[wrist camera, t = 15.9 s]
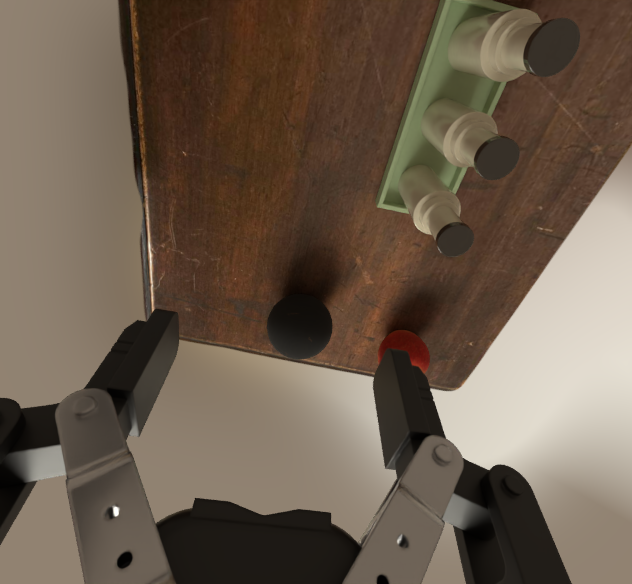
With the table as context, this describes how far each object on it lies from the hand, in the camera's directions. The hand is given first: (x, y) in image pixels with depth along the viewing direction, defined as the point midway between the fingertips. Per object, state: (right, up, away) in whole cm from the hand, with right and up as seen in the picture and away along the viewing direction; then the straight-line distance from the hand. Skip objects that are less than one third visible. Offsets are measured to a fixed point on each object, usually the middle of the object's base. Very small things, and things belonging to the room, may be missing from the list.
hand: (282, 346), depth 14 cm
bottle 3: (+14, +16, +32) cm, 39 cm away
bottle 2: (+16, +22, +28) cm, 39 cm away
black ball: (-1, 0, +45) cm, 45 cm away
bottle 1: (+18, +28, +23) cm, 41 cm away
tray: (+16, +22, +28) cm, 39 cm away
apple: (+16, -6, +49) cm, 51 cm away
